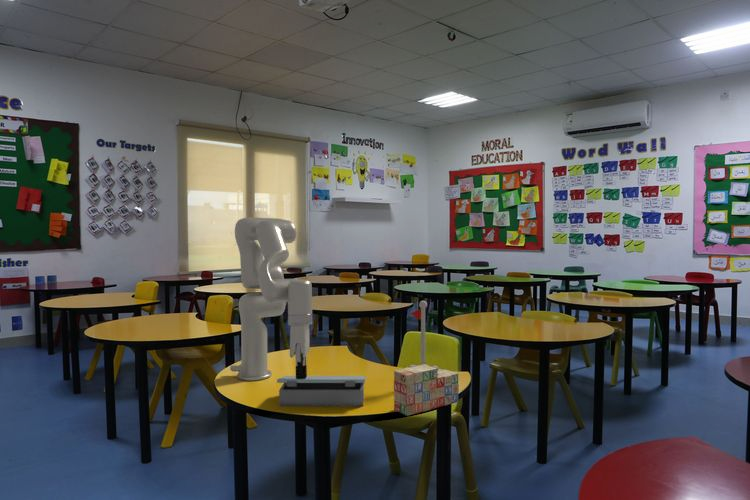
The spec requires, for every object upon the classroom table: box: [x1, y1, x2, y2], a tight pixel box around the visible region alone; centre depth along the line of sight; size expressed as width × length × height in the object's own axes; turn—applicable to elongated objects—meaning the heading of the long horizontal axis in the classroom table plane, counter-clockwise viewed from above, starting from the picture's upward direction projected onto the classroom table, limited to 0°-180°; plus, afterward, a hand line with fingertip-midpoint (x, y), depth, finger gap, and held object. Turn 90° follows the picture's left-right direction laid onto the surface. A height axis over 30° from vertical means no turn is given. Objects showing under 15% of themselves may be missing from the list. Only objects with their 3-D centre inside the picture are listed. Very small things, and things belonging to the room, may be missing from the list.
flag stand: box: [405, 300, 442, 371], centre depth 171 cm, size 13×13×30 cm
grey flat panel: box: [276, 375, 367, 387], centre depth 153 cm, size 27×13×2 cm, turn 90°
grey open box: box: [278, 383, 365, 407], centre depth 153 cm, size 26×12×5 cm, turn 90°
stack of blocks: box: [393, 364, 460, 417], centre depth 148 cm, size 21×6×12 cm, turn 125°
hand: (301, 377), depth 149 cm, fingers closed
